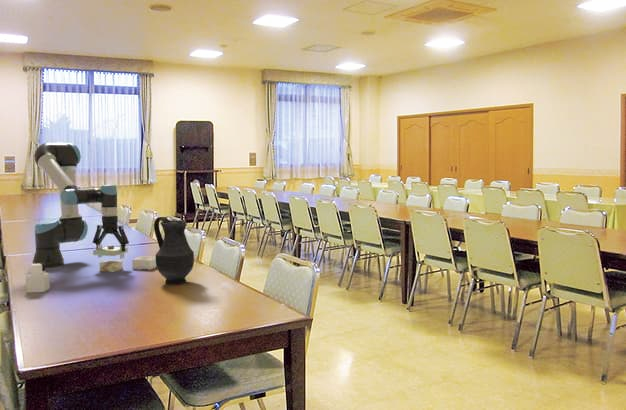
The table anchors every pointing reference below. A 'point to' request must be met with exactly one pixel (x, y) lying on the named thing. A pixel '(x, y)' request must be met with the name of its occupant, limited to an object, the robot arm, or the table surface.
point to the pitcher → (173, 251)
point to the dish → (144, 262)
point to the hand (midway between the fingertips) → (111, 257)
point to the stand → (111, 266)
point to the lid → (109, 251)
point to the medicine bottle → (37, 278)
